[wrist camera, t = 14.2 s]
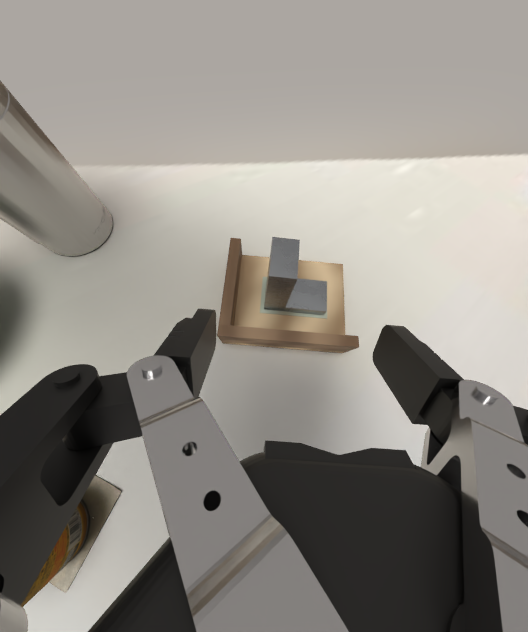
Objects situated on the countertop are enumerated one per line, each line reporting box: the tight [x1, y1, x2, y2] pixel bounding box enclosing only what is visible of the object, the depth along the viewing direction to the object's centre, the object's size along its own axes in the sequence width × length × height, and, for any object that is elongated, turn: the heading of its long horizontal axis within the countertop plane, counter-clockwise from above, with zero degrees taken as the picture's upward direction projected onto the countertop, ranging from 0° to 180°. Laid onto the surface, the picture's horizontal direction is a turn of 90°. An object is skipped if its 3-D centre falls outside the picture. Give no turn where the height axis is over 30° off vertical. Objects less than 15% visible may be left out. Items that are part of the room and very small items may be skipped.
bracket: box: [264, 237, 327, 315], centre depth 24 cm, size 8×4×9 cm, turn 85°
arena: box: [222, 255, 345, 353], centre depth 29 cm, size 15×12×1 cm
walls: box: [217, 238, 359, 352], centre depth 27 cm, size 15×12×4 cm
